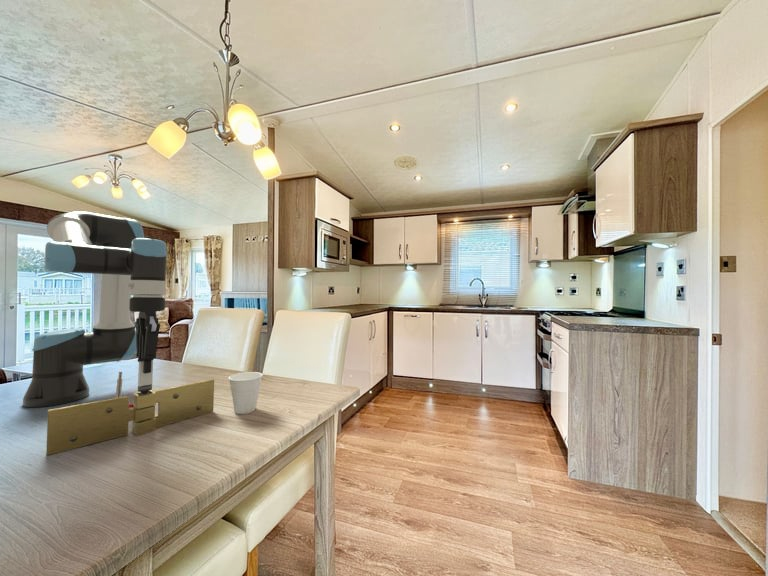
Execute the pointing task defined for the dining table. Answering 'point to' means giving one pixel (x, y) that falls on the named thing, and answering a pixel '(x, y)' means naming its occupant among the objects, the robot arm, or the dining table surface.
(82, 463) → the dining table surface
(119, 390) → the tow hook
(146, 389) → the pin
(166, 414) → the fixed leaf
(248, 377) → the cup
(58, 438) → the moving leaf
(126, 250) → the robot arm
